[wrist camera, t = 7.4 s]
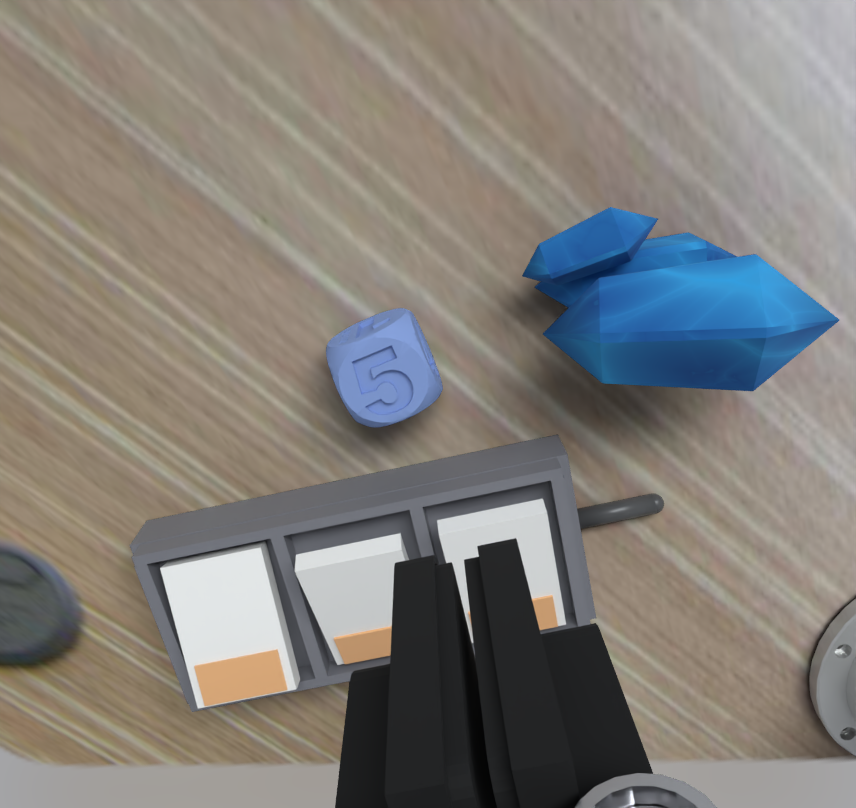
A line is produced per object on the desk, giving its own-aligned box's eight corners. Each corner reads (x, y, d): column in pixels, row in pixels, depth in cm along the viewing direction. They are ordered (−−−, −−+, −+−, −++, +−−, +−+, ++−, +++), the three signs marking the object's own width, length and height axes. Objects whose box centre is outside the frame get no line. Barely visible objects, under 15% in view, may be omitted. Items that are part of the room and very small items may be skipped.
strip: (649, 415, 39) (672, 443, 35) (671, 573, 42) (694, 614, 38) (146, 520, 40) (120, 558, 37) (201, 666, 43) (182, 714, 39)
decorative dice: (408, 300, 37) (408, 320, 33) (442, 376, 38) (445, 404, 34) (330, 333, 37) (320, 357, 33) (365, 407, 38) (360, 438, 35)
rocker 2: (542, 495, 36) (547, 514, 34) (561, 606, 39) (566, 626, 38) (436, 517, 36) (439, 536, 35) (465, 625, 39) (468, 645, 38)
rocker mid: (400, 529, 36) (401, 551, 35) (431, 626, 40) (433, 648, 39) (296, 551, 36) (294, 573, 35) (337, 644, 40) (337, 667, 39)
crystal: (506, 227, 29) (870, 199, 26) (528, 201, 37) (809, 177, 34) (520, 419, 31) (854, 411, 29) (538, 355, 39) (801, 345, 37)
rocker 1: (266, 539, 38) (260, 548, 36) (301, 677, 38) (296, 690, 37) (169, 560, 38) (159, 569, 37) (205, 696, 39) (197, 710, 37)
